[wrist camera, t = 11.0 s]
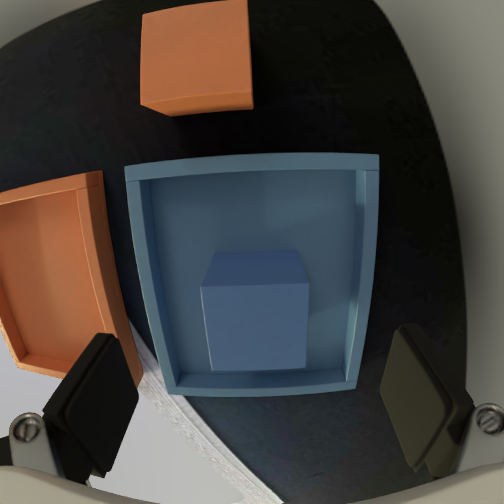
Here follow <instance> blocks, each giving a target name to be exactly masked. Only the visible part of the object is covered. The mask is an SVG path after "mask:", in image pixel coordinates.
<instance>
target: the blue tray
mask: <svg viewBox="0 0 504 504" xmlns="http://www.w3.org/2000/svg"><path fill="white" fill-rule="evenodd" d="M378 170H379V155H378V154H358V153H261V154H240V155H224V156H210V157H198V158H188V159H178V160H169V161H160V162H152V163H144V164H137V165H130V166H125V177H126V188H127V198H128V207H129V215H130V222H131V230H132V237H133V243H134V250H135V256H136V262H137V267H138V273H139V278H140V284H141V289H142V294H143V299H144V303H145V308H146V313H147V317H148V321H149V326H150V330H151V334H152V338H153V342H154V346H155V350H156V354H157V358H158V361H159V365H160V369H161V372H162V376H163V379H164V383H165V386H166V389H167V392H168V394H173V395H188V396H213V397H258V396H283V395H299V394H311V393H322V392H332V391H340V390H348V389H355V388H356V383H357V378H358V373H359V368H360V363H361V358H362V353H363V347H364V342H365V336H366V329H367V323H368V316H369V309H370V302H371V294H372V285H373V276H374V266H375V255H376V242H377V226H378V203H379V171H378ZM275 250H297V252H298V254H299V257H300V259H301V262H302V264H303V267H304V269H305V272H306V275H307V277H308V280H309V282H310V297H309V321H308V341H307V357H306V367H305V368H293V369H275V370H237V371H219V370H212V368H211V361H210V355H209V349H208V342H207V335H206V328H205V321H204V314H203V307H202V299H201V291H200V286H201V284H202V281H203V279H204V277H205V274H206V272H207V270H208V267H209V265H210V263H211V260H212V258H213V256H214V253H224V252H249V251H275Z"/></svg>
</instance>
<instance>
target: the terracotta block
mask: <svg viewBox="0 0 504 504" xmlns="http://www.w3.org/2000/svg"><path fill="white" fill-rule="evenodd" d="M141 105H143V106H146V107H148V108H151V109H153V110H156V111H158V112H161V113H163V114H166V115H168V116H170V117H174V116H182V115H190V114H199V113H209V112H220V111H233V110H250V109H254V103H253V84H252V65H251V47H250V31H249V17H248V4H247V0H227V1H217V2H208V3H200V4H193V5H187V6H181V7H175V8H170V9H165V10H160V11H156V12H151V13H147V14H143V19H142V37H141Z"/></svg>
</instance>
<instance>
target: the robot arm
mask: <svg viewBox="0 0 504 504" xmlns="http://www.w3.org/2000/svg"><path fill="white" fill-rule="evenodd" d="M380 394H381V397H382V399H383V402H384V404H385V407H386V409H387V412H388V414H389V417H390V419H391V422H392V424H393V427H394V429H395V432H396V434H397V437H398V439H399V442H400V445H401V447H402V450H403V453H404V455H405V458H406V461H407V463H408V465H409V467H413V468H414V471H415V474H416V473H419V472H422V471H425V470H429V472H430V475H431V476H430V478H429V481H428V483H427V484H424V485H420V486H417V487H414V488H411V489H407V490H404V491H400V492H396V493H393V494H389V495H385V496H381V497H377V498H373V499H368V500H363V501H359V502H353V503H348V504H504V409H503V408H502V407H500V406H499V405H496V404H493V403H485V404H481V405H479V406H477V407H475V406H474V404H473V402H474V401H473V400H472V398H471V397H470V395H469V394H468V392H467V391H466V389H465V388H464V386H463V385H462V383H461V382H460V380H459V379H458V378H457V376H456V375H455V373H454V372H453V370H452V369H451V368H450V366H449V365H448V363H447V362H446V361H445V359H444V358H443V356H442V355H441V354H440V352H439V351H438V350H437V348H436V347H435V346H434V344H433V343H432V342H431V340H430V339H429V338H428V336H427V335H426V334H425V332H424V331H423V330H422V328H421V327H420V326H419V325H418V324H417V323H409V324H402V325H400V327H399V329H397V330H395V332H394V336H393V340H392V344H391V348H390V352H389V356H388V360H387V364H386V367H385V371H384V375H383V378H382V382H381V385H380ZM138 400H139V393H138V390H137V388H136V385H135V383H134V380H133V377H132V375H131V372H130V369H129V366H128V364H127V361H126V358H125V355H124V352H123V349H122V346H121V343H120V340H119V339H118V338H116V337H115V335H114V334H112V333H101V332H99V333H97V334H96V335H95V336H94V337H93V339H92V340H91V341H90V343H89V344H88V345H87V347H86V348H85V349H84V351H83V352H82V353H81V355H80V356H79V358H78V359H77V360H76V362H75V363H74V365H73V366H72V367H71V369H70V370H69V372H68V373H67V374H66V376H65V377H64V379H63V380H62V382H61V383H60V385H59V386H58V388H57V389H56V390H55V392H54V393H53V395H52V396H51V398H50V399H49V401H48V402H47V404H46V405H45V407H44V408H43V410H42V411H43V412H44V415H43V417H41V416H40V415H38V414H36V413H31V412H30V413H24V414H21V415H19V416H18V417H17V418H15V419H14V421H13V422H12V423H11V425H10V428H9V436H6V437H3V438H0V504H158V503H152V502H147V501H142V500H138V499H133V498H129V497H124V496H120V495H116V494H113V493H109V492H106V491H102V490H98V489H95V488H92V487H91V484H90V482H89V476H90V474H91V475H94V476H97V477H101V478H105V475H106V472H109V471H110V470H111V469H112V466H113V464H114V461H115V458H116V456H117V453H118V451H119V448H120V445H121V442H122V440H123V438H124V435H125V433H126V430H127V428H128V425H129V423H130V420H131V417H132V415H133V413H134V410H135V408H136V405H137V403H138Z"/></svg>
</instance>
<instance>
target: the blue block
mask: <svg viewBox="0 0 504 504" xmlns="http://www.w3.org/2000/svg"><path fill="white" fill-rule="evenodd" d="M200 291H201V299H202V307H203V314H204V321H205V328H206V335H207V342H208V349H209V355H210V361H211V368H212V370H219V371H237V370H275V369H293V368H305V367H306V357H307V341H308V321H309V297H310V282H309V280H308V277H307V275H306V272H305V269H304V267H303V264H302V262H301V259H300V257H299V254H298V252H297V250H275V251H249V252H224V253H214V256H213V258H212V260H211V263H210V265H209V267H208V270H207V272H206V274H205V277H204V279H203V281H202V284H201V286H200Z"/></svg>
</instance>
